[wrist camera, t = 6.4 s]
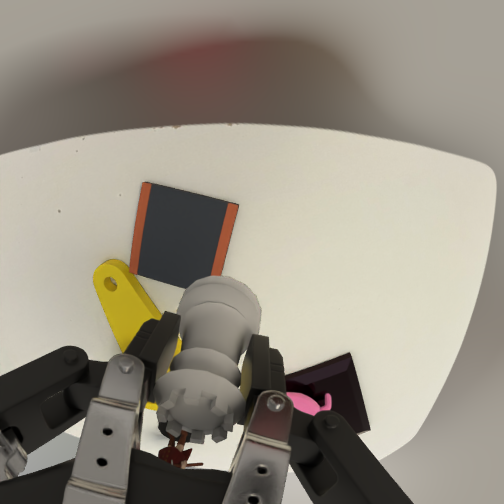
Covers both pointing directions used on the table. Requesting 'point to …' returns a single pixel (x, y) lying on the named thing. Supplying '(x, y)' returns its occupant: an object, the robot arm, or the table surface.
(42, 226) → the table surface
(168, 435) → the figurine
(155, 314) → the crank
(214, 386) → the rook chess piece
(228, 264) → the table surface
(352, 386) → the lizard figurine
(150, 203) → the mat
